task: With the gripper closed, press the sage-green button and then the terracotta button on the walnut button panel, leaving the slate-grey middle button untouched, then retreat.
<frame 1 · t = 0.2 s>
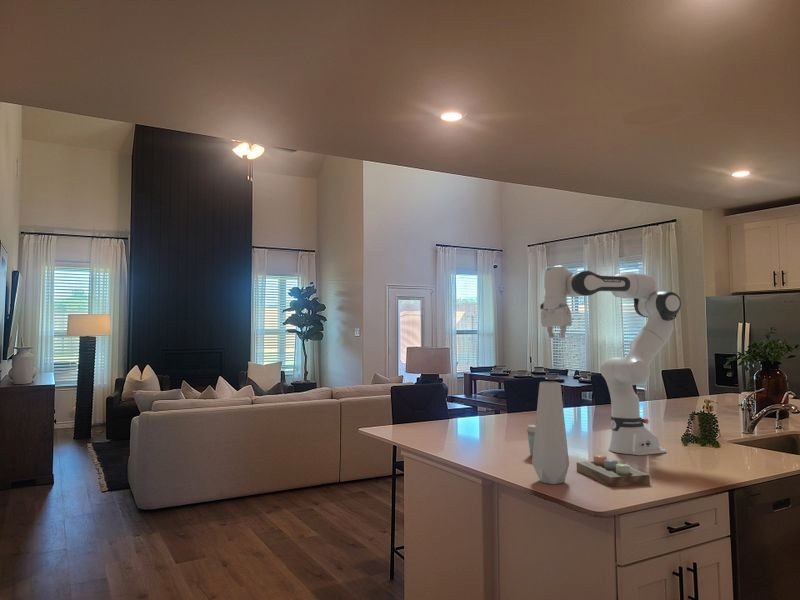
hand: (556, 337, 229), 48 cm above the countertop, fingers open, 8 cm apart
white faceted column: (553, 482, 185), on the countertop
panel: (611, 477, 190), on the countertop
button grey: (611, 465, 190), point 4 cm above the countertop, slide at 0.0 cm
coffee cup: (537, 456, 224), on the countertop
button sage: (623, 470, 183), point 4 cm above the countertop, slide at 0.0 cm
button terracotta: (600, 460, 197), point 4 cm above the countertop, slide at 0.0 cm
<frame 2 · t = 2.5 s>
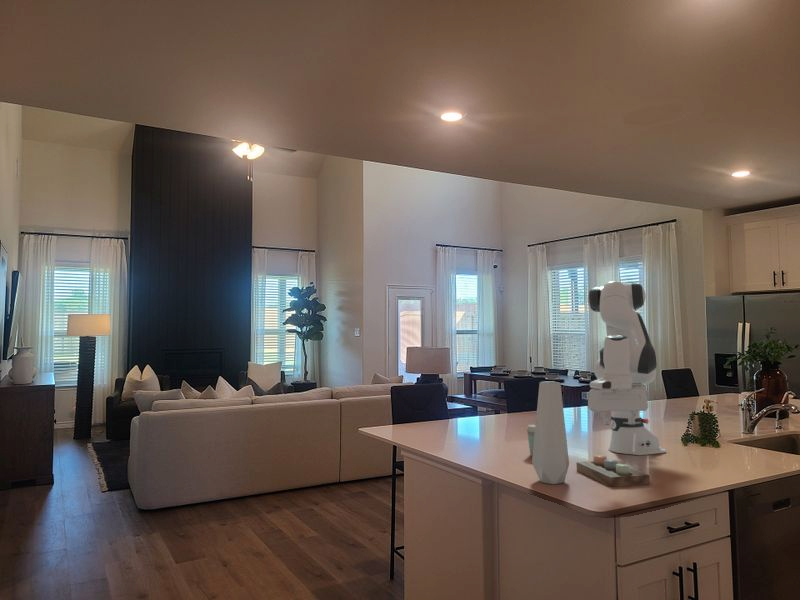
hand: (618, 424, 185), 19 cm above the countertop, fingers open, 8 cm apart
nothing on the countertop moved.
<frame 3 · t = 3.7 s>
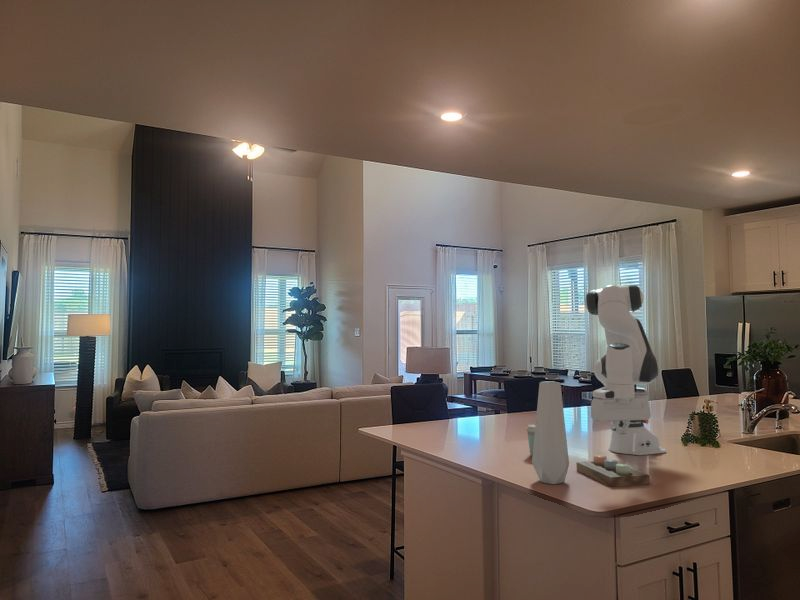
hand: (621, 434, 184), 16 cm above the countertop, fingers closed
nothing on the countertop moved.
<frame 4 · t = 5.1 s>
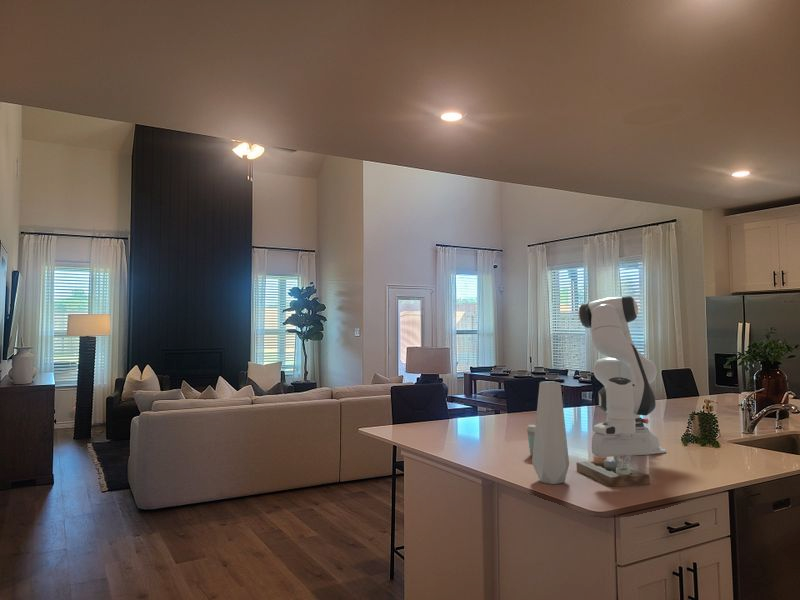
hand: (622, 469, 183), 4 cm above the countertop, fingers closed, pressing on button sage
button sage: (623, 473, 183), point 3 cm above the countertop, slide at 1.2 cm, touching gripper
everything else where it was.
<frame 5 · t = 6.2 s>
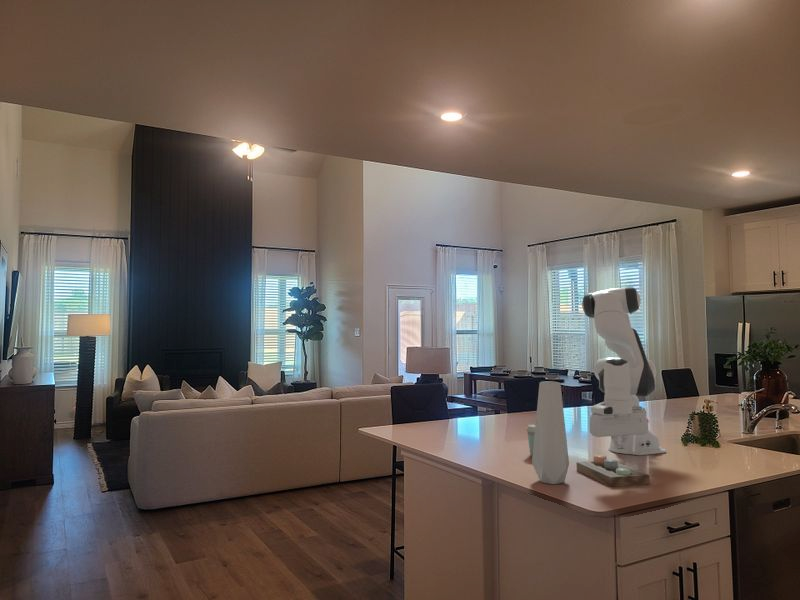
hand: (619, 448, 186), 10 cm above the countertop, fingers closed
button sage: (623, 474, 183), point 3 cm above the countertop, slide at 1.4 cm
everything else where it was.
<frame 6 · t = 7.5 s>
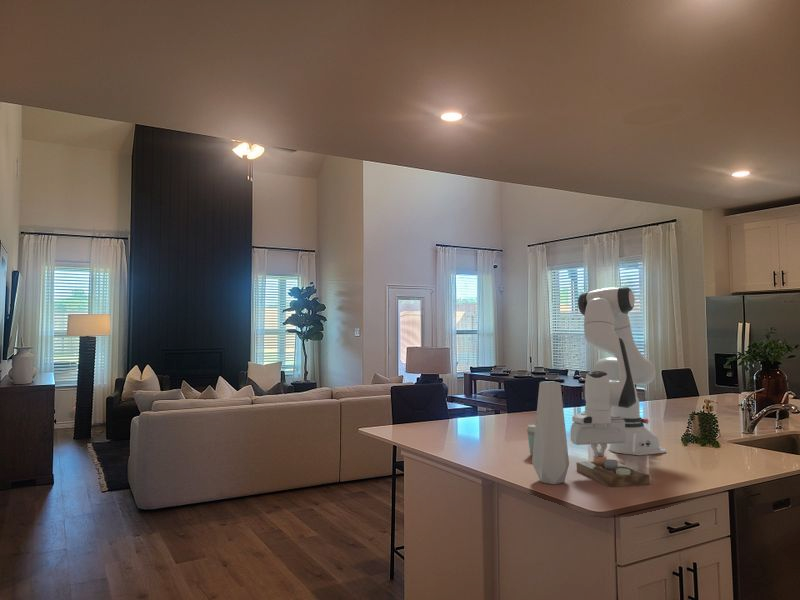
hand: (599, 456, 197), 6 cm above the countertop, fingers closed, pressing on button terracotta
button terracotta: (600, 460, 197), point 4 cm above the countertop, slide at 0.0 cm, touching gripper
everything else where it was.
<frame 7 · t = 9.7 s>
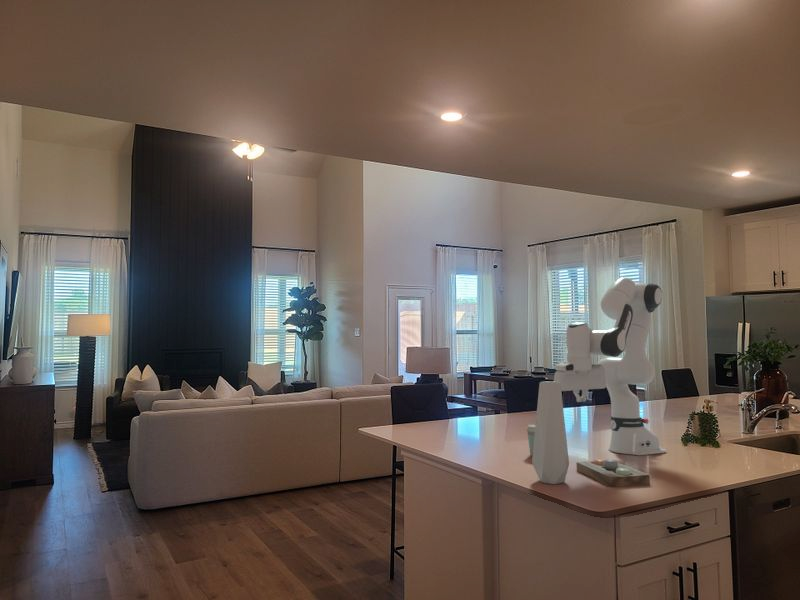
hand: (581, 401, 209), 24 cm above the countertop, fingers closed
button terracotta: (600, 464, 197), point 3 cm above the countertop, slide at 1.4 cm
everything else where it was.
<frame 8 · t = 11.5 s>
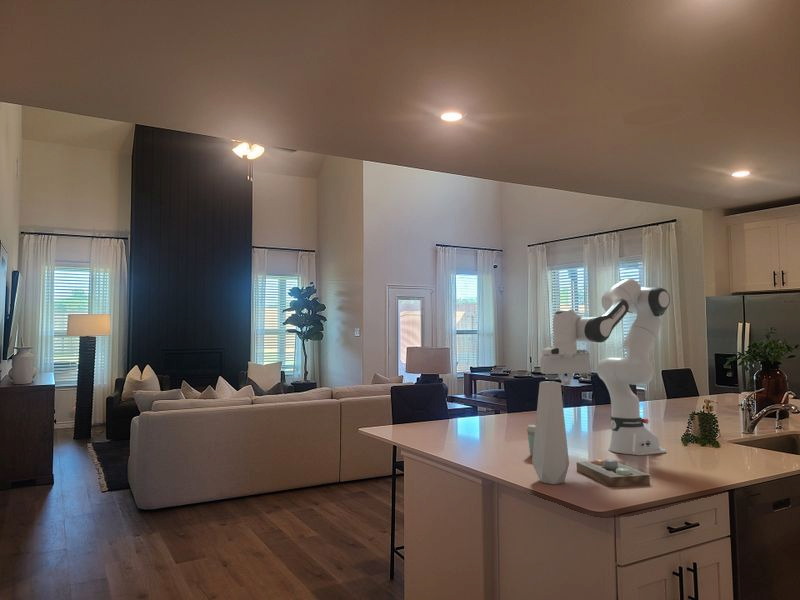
hand: (566, 385, 218), 29 cm above the countertop, fingers closed
nothing on the countertop moved.
at the end: button sage slide at 1.4 cm; button terracotta slide at 1.4 cm; button grey slide at 0.0 cm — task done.
